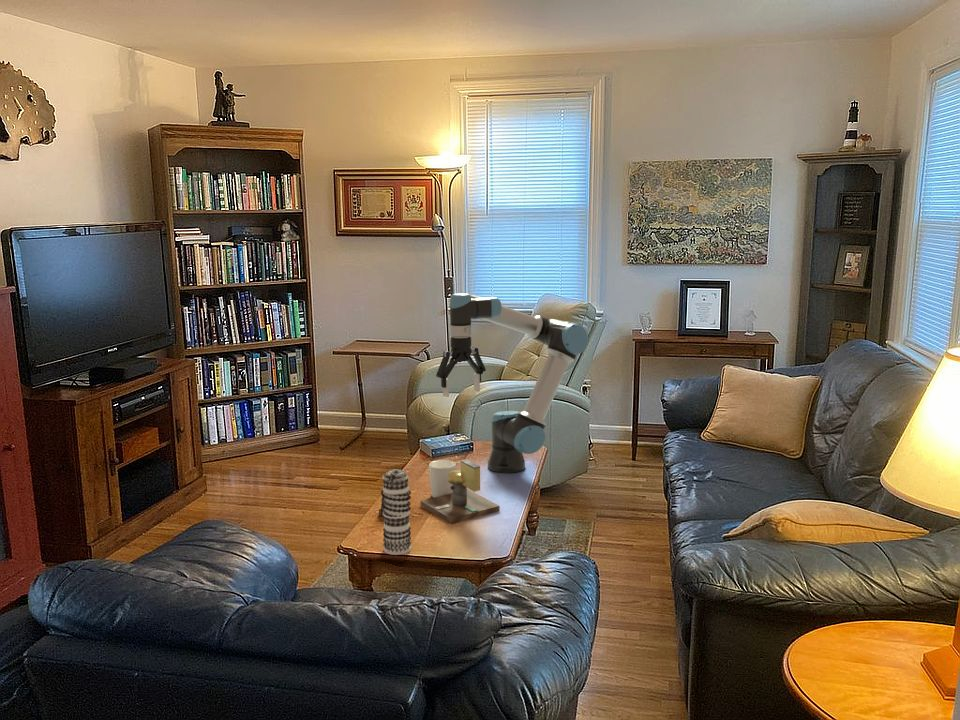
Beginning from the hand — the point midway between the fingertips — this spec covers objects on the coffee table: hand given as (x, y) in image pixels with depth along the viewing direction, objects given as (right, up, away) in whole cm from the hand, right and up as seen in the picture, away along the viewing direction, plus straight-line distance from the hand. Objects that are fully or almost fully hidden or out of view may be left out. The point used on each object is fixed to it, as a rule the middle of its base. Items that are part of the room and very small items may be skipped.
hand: (461, 393), depth 291 cm
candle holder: (-7, -38, 0) cm, 38 cm away
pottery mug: (-23, -41, -18) cm, 50 cm away
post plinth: (0, -40, -13) cm, 42 cm away
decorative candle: (-19, -46, -46) cm, 68 cm away
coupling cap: (+2, -30, -19) cm, 36 cm away
